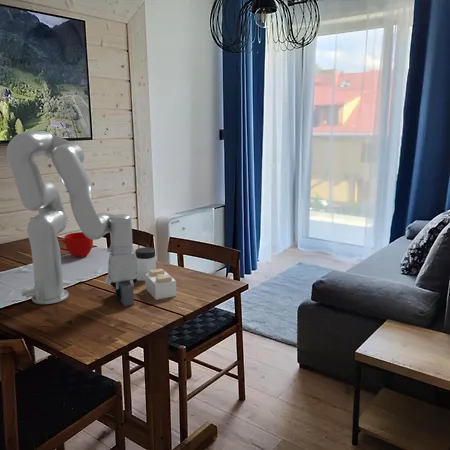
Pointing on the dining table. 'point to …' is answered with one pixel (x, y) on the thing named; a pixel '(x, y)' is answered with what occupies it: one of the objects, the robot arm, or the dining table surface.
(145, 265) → the jar
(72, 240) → the ceramic cup
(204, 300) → the dining table surface
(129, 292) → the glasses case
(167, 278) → the white toaster
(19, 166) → the robot arm
